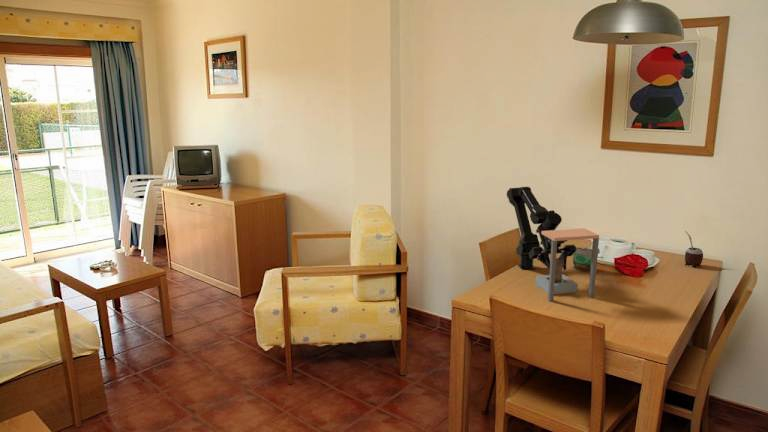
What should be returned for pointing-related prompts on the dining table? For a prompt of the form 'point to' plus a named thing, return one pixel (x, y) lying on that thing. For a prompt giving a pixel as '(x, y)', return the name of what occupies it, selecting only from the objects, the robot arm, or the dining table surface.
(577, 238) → the small table
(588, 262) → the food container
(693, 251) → the mate gourd
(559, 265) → the peg
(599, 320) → the dining table surface
